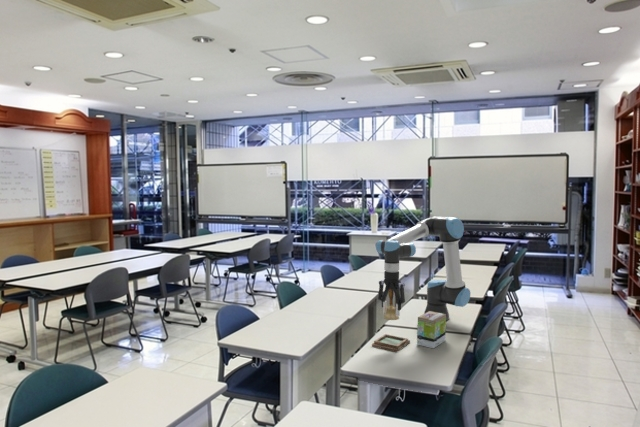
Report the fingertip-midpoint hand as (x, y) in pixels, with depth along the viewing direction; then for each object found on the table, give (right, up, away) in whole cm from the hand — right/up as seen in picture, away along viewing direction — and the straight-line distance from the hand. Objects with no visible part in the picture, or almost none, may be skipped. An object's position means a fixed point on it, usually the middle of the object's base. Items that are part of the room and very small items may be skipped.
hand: (391, 314), depth 230 cm
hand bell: (0, -2, 0) cm, 2 cm away
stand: (0, -16, +1) cm, 16 cm away
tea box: (+22, -16, +4) cm, 27 cm away
